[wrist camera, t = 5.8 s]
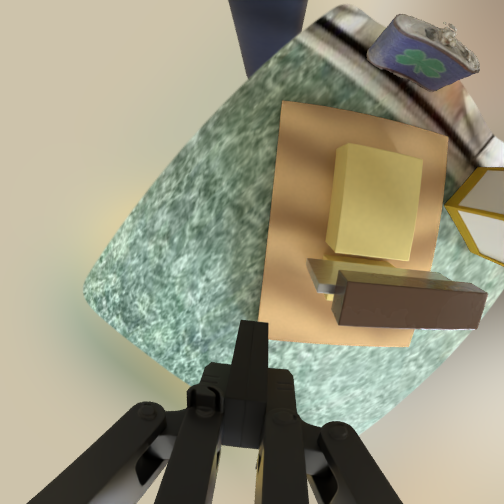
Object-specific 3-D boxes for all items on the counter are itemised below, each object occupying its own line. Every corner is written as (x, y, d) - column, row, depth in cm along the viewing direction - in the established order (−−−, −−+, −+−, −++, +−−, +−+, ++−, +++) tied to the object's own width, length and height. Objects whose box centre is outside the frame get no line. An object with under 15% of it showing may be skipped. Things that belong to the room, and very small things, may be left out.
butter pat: (323, 254, 29) (332, 266, 24) (388, 261, 29) (406, 274, 24) (318, 283, 30) (326, 300, 25) (382, 289, 29) (398, 306, 25)
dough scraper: (308, 245, 23) (328, 279, 15) (441, 261, 22) (498, 294, 14) (303, 277, 23) (319, 324, 15) (434, 289, 23) (486, 329, 15)
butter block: (336, 148, 27) (348, 142, 22) (402, 161, 26) (423, 159, 22) (324, 242, 29) (334, 252, 24) (390, 250, 28) (408, 261, 24)
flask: (363, 62, 25) (401, 17, 15) (368, 42, 25) (404, -6, 14) (436, 96, 26) (493, 72, 15) (439, 76, 25) (492, 47, 14)
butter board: (281, 104, 27) (282, 100, 26) (441, 138, 27) (448, 136, 25) (256, 331, 33) (255, 338, 31) (404, 341, 32) (408, 347, 31)
